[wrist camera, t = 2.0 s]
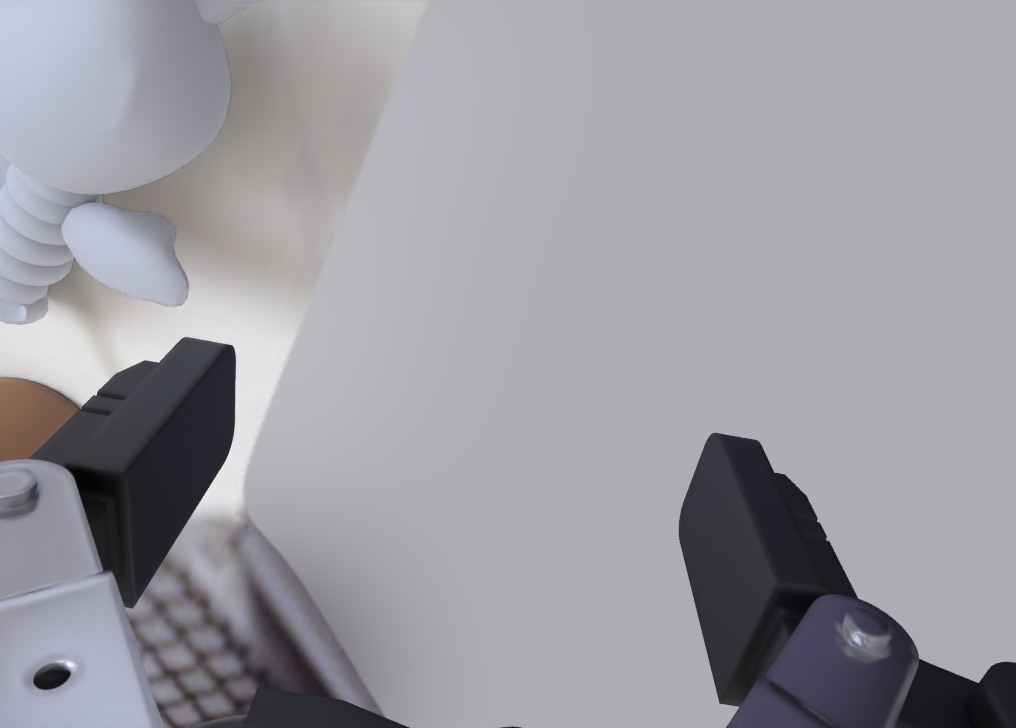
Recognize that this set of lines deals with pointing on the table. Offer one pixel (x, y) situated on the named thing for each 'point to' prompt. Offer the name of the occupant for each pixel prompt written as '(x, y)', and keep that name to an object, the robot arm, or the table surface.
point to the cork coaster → (29, 417)
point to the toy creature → (101, 138)
